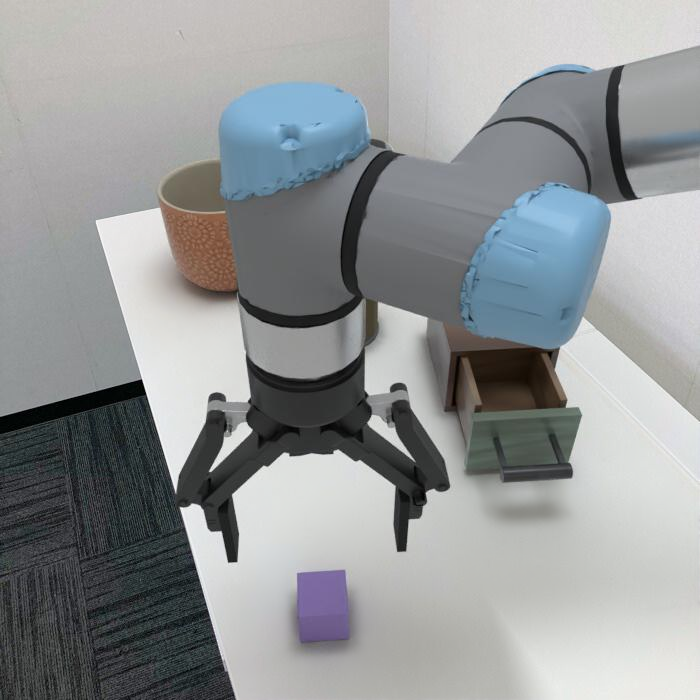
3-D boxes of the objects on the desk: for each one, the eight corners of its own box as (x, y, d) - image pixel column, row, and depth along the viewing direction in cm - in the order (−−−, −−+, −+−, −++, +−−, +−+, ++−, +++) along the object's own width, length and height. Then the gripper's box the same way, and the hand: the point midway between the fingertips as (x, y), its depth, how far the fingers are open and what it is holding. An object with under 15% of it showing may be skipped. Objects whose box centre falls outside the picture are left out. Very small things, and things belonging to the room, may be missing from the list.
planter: (173, 311, 102) (153, 218, 92) (177, 249, 114) (159, 161, 105) (290, 299, 104) (283, 207, 94) (281, 239, 116) (274, 152, 106)
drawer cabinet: (546, 405, 86) (560, 345, 80) (444, 411, 86) (450, 351, 79) (516, 331, 97) (527, 273, 91) (426, 336, 97) (430, 278, 91)
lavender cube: (349, 639, 64) (348, 614, 61) (300, 642, 64) (297, 617, 61) (346, 595, 67) (345, 569, 64) (299, 598, 67) (297, 572, 64)
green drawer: (584, 505, 74) (600, 455, 69) (476, 512, 73) (485, 463, 68) (535, 381, 88) (545, 333, 83) (445, 386, 88) (450, 338, 83)
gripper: (489, 299, 47) (459, 497, 61) (113, 317, 46) (169, 514, 60) (517, 375, 42) (477, 573, 56) (89, 396, 41) (156, 594, 54)
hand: (317, 543), depth 58 cm, fingers open, 13 cm apart
